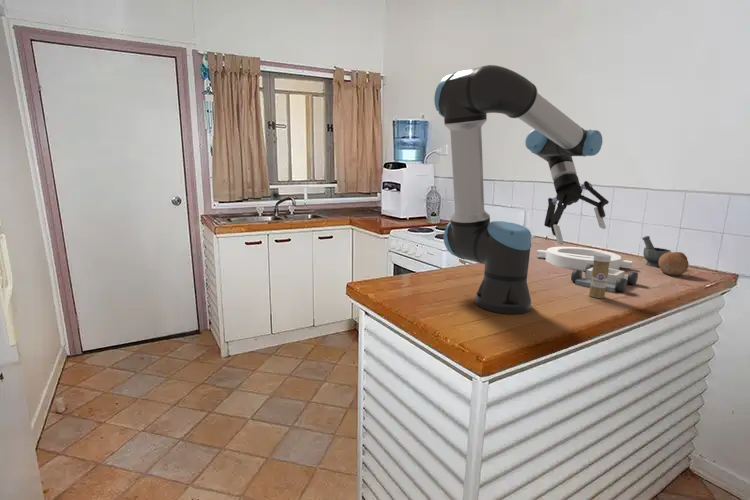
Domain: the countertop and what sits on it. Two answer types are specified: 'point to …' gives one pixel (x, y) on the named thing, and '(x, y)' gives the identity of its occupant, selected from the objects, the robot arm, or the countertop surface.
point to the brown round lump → (673, 263)
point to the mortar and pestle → (652, 252)
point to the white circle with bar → (579, 257)
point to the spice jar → (599, 275)
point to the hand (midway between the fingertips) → (581, 235)
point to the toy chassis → (614, 279)
